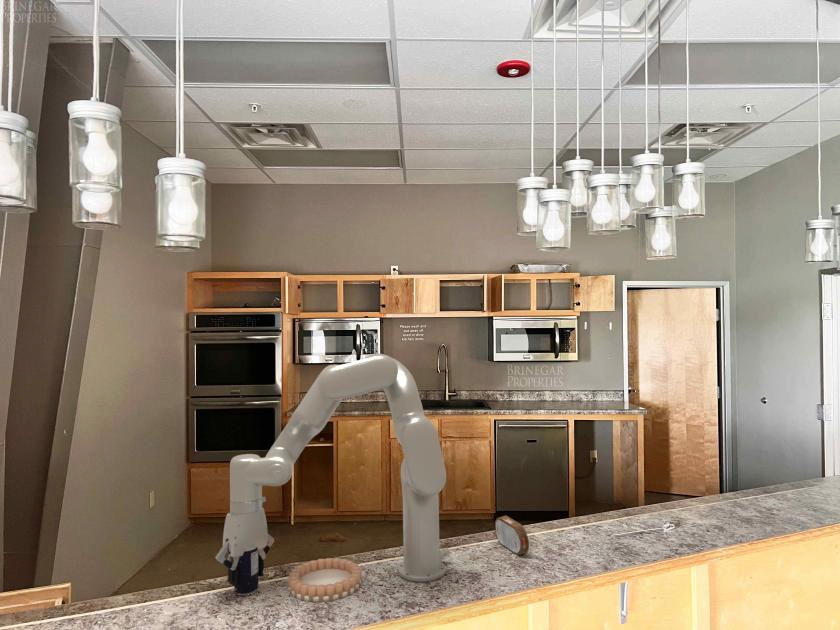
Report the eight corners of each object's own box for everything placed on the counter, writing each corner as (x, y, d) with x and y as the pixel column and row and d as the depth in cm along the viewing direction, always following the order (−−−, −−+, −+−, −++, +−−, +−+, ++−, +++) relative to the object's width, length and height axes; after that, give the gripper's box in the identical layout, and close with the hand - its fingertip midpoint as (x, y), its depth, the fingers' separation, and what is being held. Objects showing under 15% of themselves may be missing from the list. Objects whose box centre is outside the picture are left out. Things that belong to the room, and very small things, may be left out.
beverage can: (249, 584, 137) (249, 536, 138) (263, 590, 134) (262, 541, 134) (229, 593, 133) (229, 543, 133) (242, 599, 129) (242, 548, 130)
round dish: (330, 563, 149) (330, 552, 149) (376, 582, 137) (376, 570, 137) (273, 586, 136) (273, 574, 136) (318, 609, 124) (318, 596, 124)
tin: (530, 558, 151) (529, 527, 151) (520, 560, 149) (519, 529, 150) (502, 539, 165) (502, 511, 165) (493, 541, 163) (492, 513, 164)
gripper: (268, 495, 143) (268, 564, 142) (205, 511, 130) (205, 587, 129) (284, 500, 138) (284, 572, 137) (220, 517, 125) (221, 597, 124)
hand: (246, 579), depth 133 cm, fingers open, 6 cm apart
